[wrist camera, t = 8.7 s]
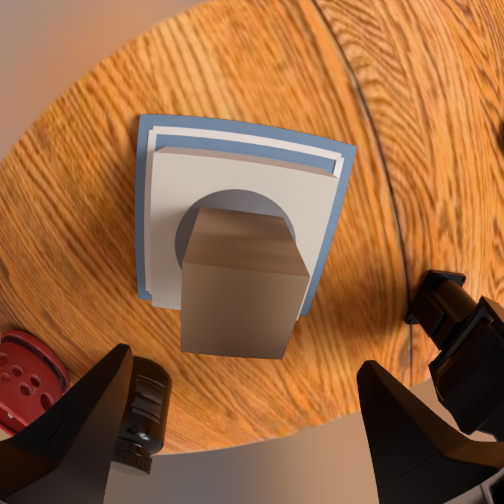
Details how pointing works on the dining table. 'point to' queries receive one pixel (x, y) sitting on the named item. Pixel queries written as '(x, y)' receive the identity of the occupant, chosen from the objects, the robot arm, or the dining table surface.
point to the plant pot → (27, 380)
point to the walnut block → (240, 285)
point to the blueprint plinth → (231, 191)
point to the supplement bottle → (142, 419)
